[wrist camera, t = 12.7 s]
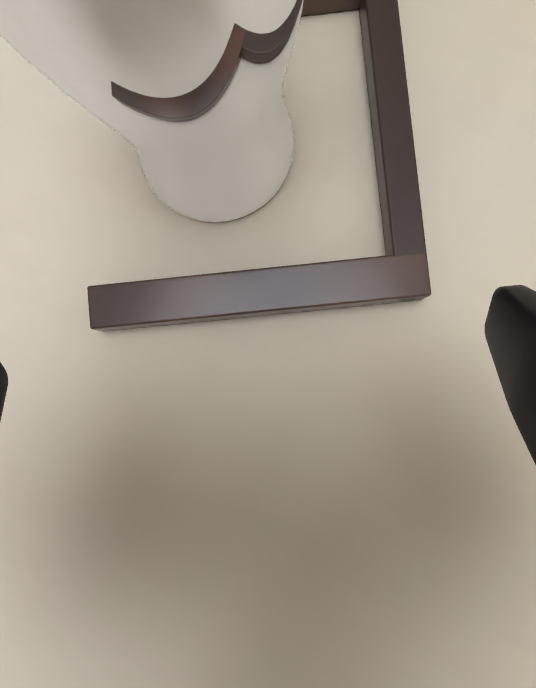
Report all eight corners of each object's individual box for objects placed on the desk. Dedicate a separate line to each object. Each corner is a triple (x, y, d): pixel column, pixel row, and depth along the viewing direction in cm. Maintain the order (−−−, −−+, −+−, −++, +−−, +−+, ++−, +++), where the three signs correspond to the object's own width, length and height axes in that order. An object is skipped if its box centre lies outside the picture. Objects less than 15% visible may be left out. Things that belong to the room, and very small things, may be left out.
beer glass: (220, 271, 18) (-84, -125, 3) (93, 153, 19) (-658, -645, 4) (343, 139, 18) (565, -827, 3) (213, 25, 19) (-87, -1268, 4)
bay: (102, 331, 19) (89, 329, 17) (76, 5, 19) (62, -20, 18) (422, 299, 18) (432, 295, 17) (384, -33, 19) (391, -60, 18)
